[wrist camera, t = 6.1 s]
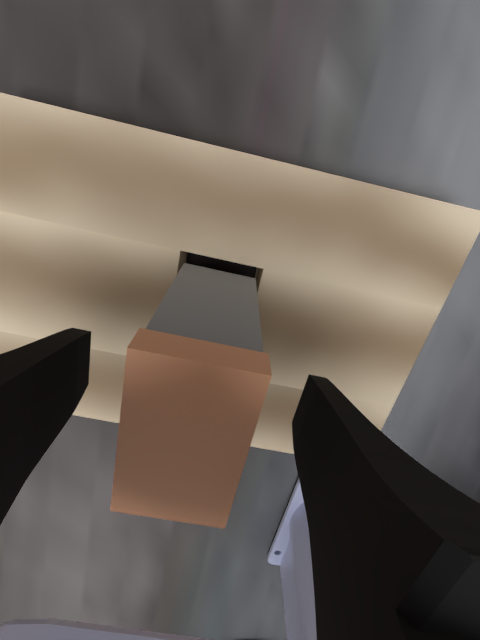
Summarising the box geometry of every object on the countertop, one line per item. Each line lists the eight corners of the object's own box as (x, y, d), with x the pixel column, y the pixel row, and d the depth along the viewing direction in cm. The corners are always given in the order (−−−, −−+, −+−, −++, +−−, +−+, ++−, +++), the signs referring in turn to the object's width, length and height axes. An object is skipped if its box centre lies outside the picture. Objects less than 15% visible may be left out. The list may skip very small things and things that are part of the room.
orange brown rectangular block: (232, 380, 17) (224, 528, 10) (165, 367, 16) (110, 510, 10) (258, 276, 15) (271, 376, 8) (182, 259, 14) (126, 348, 8)
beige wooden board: (348, 429, 22) (363, 466, 20) (26, 369, 21) (-7, 400, 18) (448, 204, 17) (488, 213, 14) (18, 98, 15) (-32, 84, 12)
